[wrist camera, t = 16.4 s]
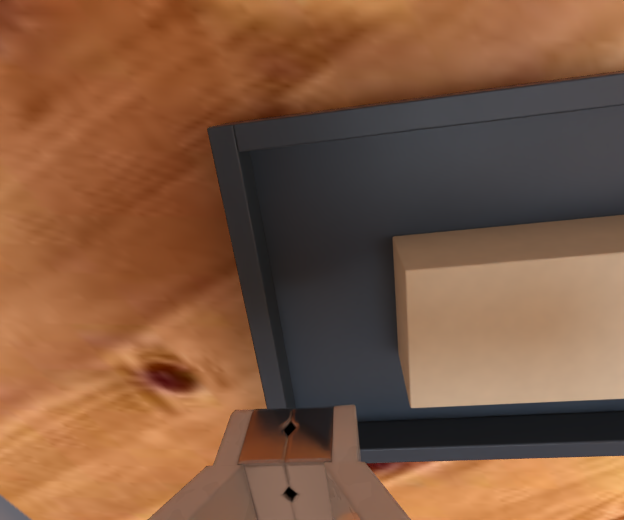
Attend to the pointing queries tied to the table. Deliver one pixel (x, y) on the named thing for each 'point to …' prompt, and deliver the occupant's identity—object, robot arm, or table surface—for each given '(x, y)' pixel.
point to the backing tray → (407, 221)
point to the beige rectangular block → (512, 313)
